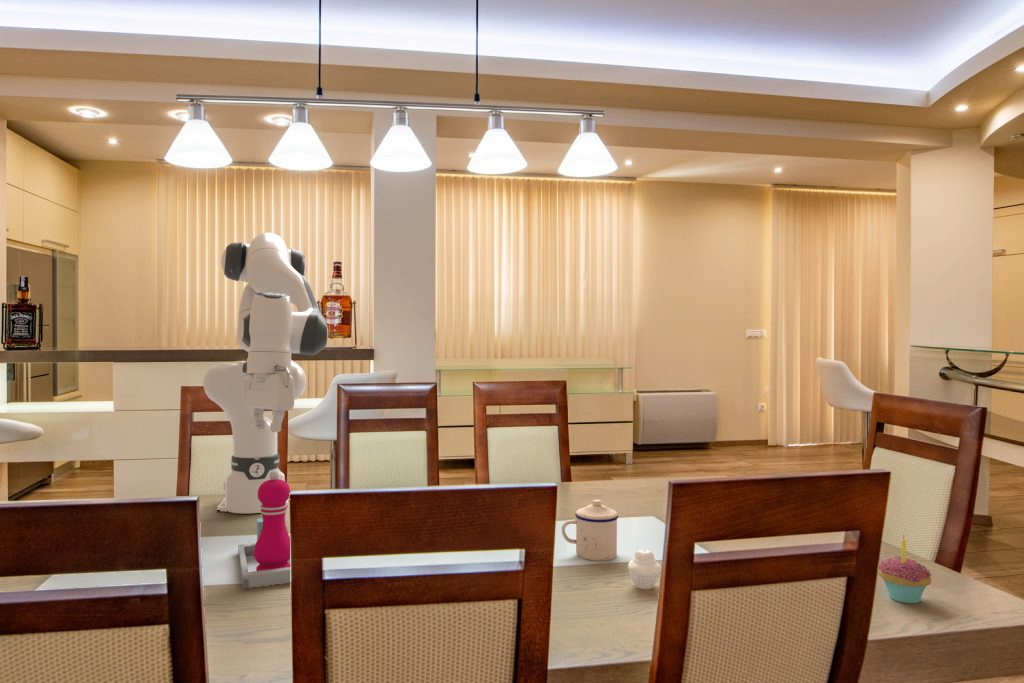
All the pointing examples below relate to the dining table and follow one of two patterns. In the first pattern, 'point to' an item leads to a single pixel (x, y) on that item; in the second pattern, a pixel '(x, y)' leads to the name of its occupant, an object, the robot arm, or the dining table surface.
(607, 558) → the teacup with lid
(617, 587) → the dining table surface
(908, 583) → the cupcake
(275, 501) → the pepper mill
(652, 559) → the small white lidded pot
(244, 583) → the grey rectangular frame
